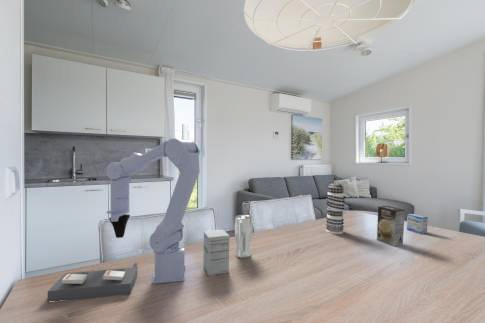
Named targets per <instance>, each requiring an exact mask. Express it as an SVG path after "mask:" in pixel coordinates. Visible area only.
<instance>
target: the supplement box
mask: <svg viewBox="0 0 485 323" xmlns="http://www.w3.org/2000/svg"><path fill="white" fill-rule="evenodd" d="M203 268H204V269H205V271H206V274H207V275H208V276H215V275H219V274H225V273H229V272H230V234H229V233H227V232H226V231H225V229H221V228H220V229H211V230H204V231H203Z"/></svg>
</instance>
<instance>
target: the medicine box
mask: <svg viewBox="0 0 485 323" xmlns="http://www.w3.org/2000/svg"><path fill="white" fill-rule="evenodd" d="M406 217H407V220H406V230H407V231H409V232H412V231H413V233H416V234H420V235H424V234H425V233H426V234H427V233H428V221H429V220H428V217H427V216H423V215H419V214H414V213H408V214H407V216H406Z"/></svg>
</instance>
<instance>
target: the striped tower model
mask: <svg viewBox="0 0 485 323" xmlns="http://www.w3.org/2000/svg"><path fill="white" fill-rule="evenodd" d="M344 189H345V187H344V185H343V184H341V183H338V182H337V183H334V182H332V183H330V184H329V185H328V186H327V193H326V196H325V197H326V209H327V212H326V213H327V214H326V224H325V231H326V233H329V234H332V235H333V234H334V235H342V234H344V227H345V226H344V224H345V222H344V220H345V219H344V212H345V202H346V200H345V199H346V198H345V197H344V196H345V193H344Z"/></svg>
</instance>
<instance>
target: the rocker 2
mask: <svg viewBox="0 0 485 323" xmlns="http://www.w3.org/2000/svg"><path fill="white" fill-rule="evenodd" d="M106 270H107V271H106V272H105V274H104V275H103V279H108V280H122V279H123V277H124V275H125V272H124V271H111V270H109V269H106Z"/></svg>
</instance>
